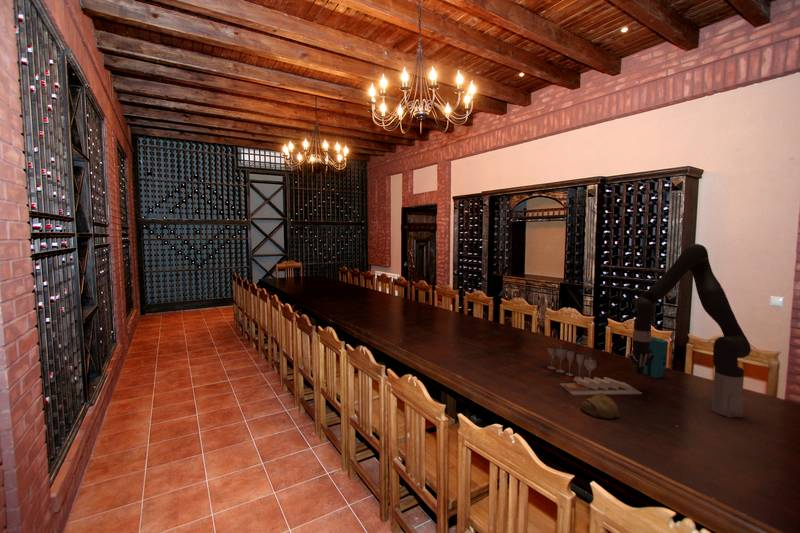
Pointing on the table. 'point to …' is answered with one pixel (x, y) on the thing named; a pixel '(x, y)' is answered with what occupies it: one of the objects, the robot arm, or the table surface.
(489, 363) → the table surface
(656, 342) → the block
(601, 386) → the ivory domino
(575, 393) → the grey rubber mat
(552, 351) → the goblet set
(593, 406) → the pastry
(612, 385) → the ivory domino
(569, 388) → the terracotta domino
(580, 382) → the ivory domino
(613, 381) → the ivory domino
